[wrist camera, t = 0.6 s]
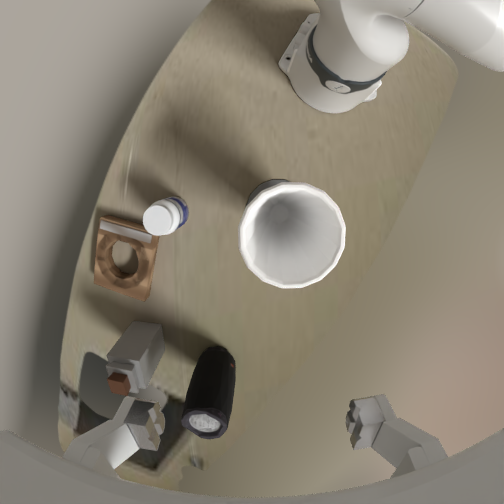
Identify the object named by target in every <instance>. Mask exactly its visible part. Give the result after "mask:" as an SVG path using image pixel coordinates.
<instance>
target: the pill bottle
mask: <svg viewBox="0 0 504 504" xmlns="http://www.w3.org/2000/svg"><path fill="white" fill-rule="evenodd" d="M188 216H189V208H188V205H187V204H186V202H185V201H184V200H183V199H181V198H179V197H168V198H165V199H162V200H159V201H156V202H154V203H153V204H152V205H151V206H150V207H149V208H148V209H147V210H146V211H145V213H144V215H143V225H144V227H145V229H146V230H147V231H148V232H149V233H150V234H152V235H156V236H160V235H167V234H170V233H172V232H174V231H175V230H176V229H178V228H179V227H181V226H182V225H183V224H184V223H185V222H186V221H187V219H188Z"/></svg>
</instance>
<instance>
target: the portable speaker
mask: <svg viewBox="0 0 504 504" xmlns="http://www.w3.org/2000/svg"><path fill="white" fill-rule="evenodd" d="M234 388H235V360H234V358H233V356H231V355H230V354H229V353H228V352H227V350H226V349H225V348H222V347H219V346H215V347H209V348H208V349H207V350H206V351H205V352H203V353H202V355H201V356H200V358H199V360H198V362H197V365H196V367H195V369H194V372H193V375H192V378H191V381H190V384H189V388H188V391H187V394H186V400H185V405H184V411H183V414H182V416H183V417H182V418H181V420H182V426H184V427H185V428H187V429H188V430H190V431H191V432H193V433H194V434H196V435H198V436H199V437H201V438H204V439H214V438H219V437H221V436H222V435H223V434H224V432H225V431H226V430H227V428H228V423H229V419H230V415H231V411H232V404H233V396H234Z"/></svg>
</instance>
